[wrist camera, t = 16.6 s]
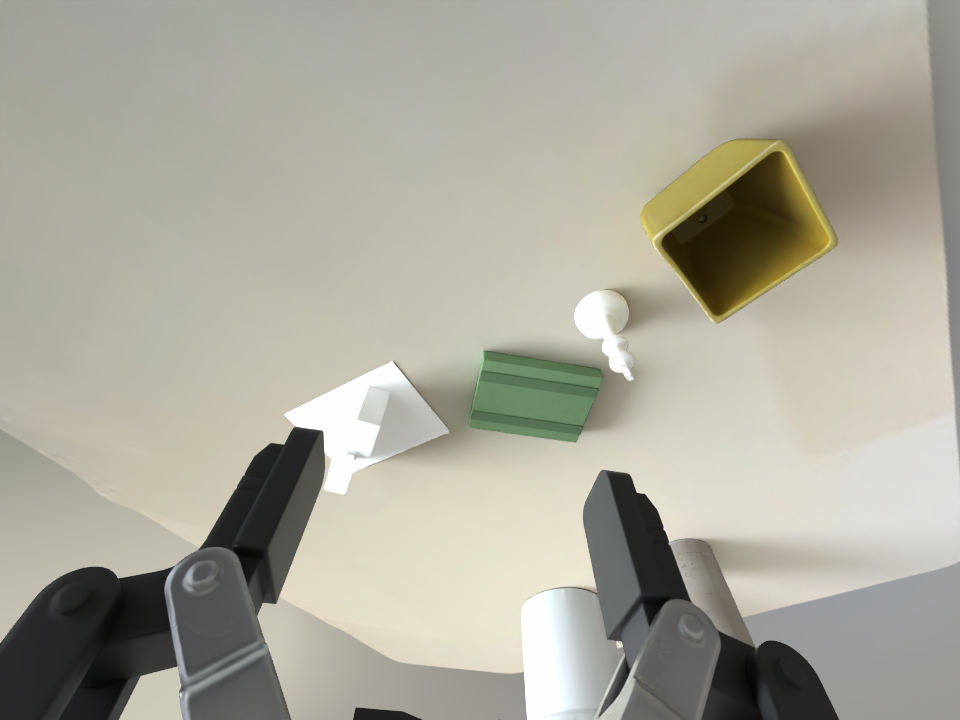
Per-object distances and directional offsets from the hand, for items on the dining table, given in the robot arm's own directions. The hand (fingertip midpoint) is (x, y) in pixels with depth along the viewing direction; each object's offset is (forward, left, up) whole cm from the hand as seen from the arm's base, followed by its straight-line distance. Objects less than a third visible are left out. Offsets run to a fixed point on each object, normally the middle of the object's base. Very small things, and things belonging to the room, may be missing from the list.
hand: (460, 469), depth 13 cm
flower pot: (+17, +3, -28) cm, 33 cm away
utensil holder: (+25, -61, -28) cm, 72 cm away
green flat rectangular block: (+9, -19, -28) cm, 35 cm away
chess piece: (+13, -8, -28) cm, 32 cm away
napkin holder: (-8, -26, -28) cm, 39 cm away
